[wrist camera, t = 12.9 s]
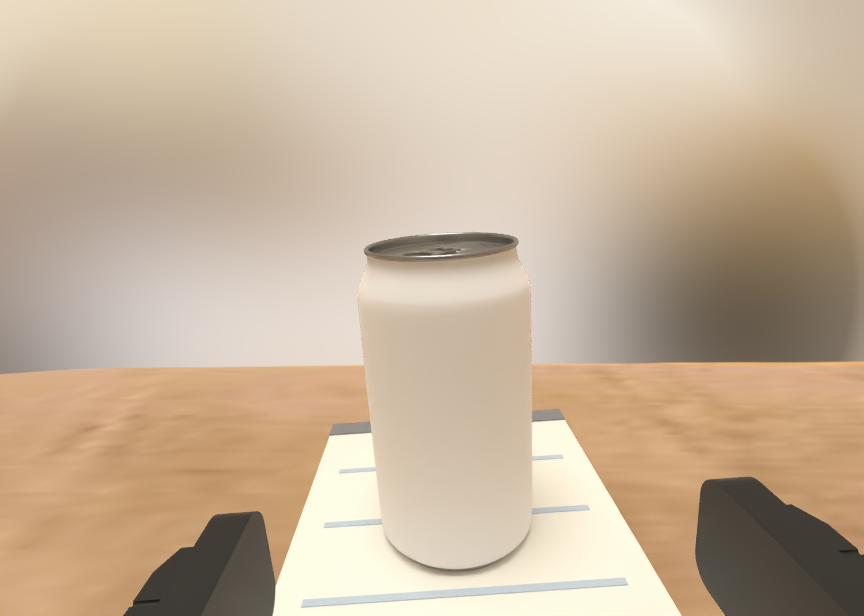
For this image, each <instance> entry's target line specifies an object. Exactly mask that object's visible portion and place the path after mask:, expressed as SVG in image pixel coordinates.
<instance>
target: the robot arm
mask: <svg viewBox="0 0 864 616" xmlns="http://www.w3.org/2000/svg"><path fill="white" fill-rule="evenodd" d="M695 554H696V562H697V566H698V570H699V573H700V576H701V578H702V581H703V583H704V585H705V587H706V588H707V590H708V591H709V593H710V594H711V596H712V597H713V599H714V600H715V601H716V603H717V604H718V606H719V607H720V609H721V610H722V611H723V613H724V614H725V616H864V555H860V554H859V552H858V549H857V548H856V547H855V546H853V545H852V544H851V543H850V542H849V541H847V540H846V539H845V538H844V537H843V536H841V535H840V534H839V533H838V532H837V531H835V530H834V529H833V528H832V527H831V526H829V525H828V524H827V523H825V522H823V521H821V520H819V519H817V518H815V517H814V516H812V515H810V514H808V513H806V512H804V511H803V510H801V509H799V508H797V507H795V506H793V505H786V504H784V503H783V502H782V501H781V500H780V499H779V498H778V497H776V496H775V495H774V494H773V493H772V492H771V491H770V490H769V489H767V488H766V487H765V486H764V485H763V484H762V483H761V482H759V481H758V480H757V479H755V478H753V477H738V478H724V479H711V480H706V481H705V482H704V483H703V484H702V487H701V492H700V503H699V514H698V526H697V537H696V549H695ZM274 604H275V578H274V573H273V567H272V562H271V556H270V551H269V545H268V540H267V535H266V529H265V524H264V519H263V516H262V514H261V513H260V512H258V511H256V512H242V513H228V514H217V515H215V516H213V517H212V518H211V520H210V521H209V523H208V524H207V526H206V527H205V529H204V531H203V532H202V534H201V536H200V537H199V539H198V540H197V542H196V544H195V545H194V547H187V548H181V549H179V550H178V551H177V552H176V553H175V554H174V555H173V556H171V557H170V558H169V559H168V560H167V561H166V562H164V563H163V564H162V565H161V566H160V567H159V568H158V569H156V570H155V571H154V572H153V573H152V575H151V576H150V578H149V579H148V581H147V582H146V583H145V585H144V586H143V588H142V589H141V591H140V592H139V594H138V595H137V597H136V598H135V600H134V601H133V606H132V607H129V608H128V610H127V611H126V613H125V614H124V616H273V611H274Z"/></svg>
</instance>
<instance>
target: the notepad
mask: <svg viewBox="0 0 864 616" xmlns="http://www.w3.org/2000/svg"><path fill="white" fill-rule="evenodd" d="M273 616H681V614H680V612H679V611H678V609H677V607H676V606H675V604H674V602H673V601H672V599H671V597H670V596H669V594H668V592H667V591H666V589H665V587H664V586H663V584H662V582H661V581H660V579H659V577H658V576H657V574H656V572H655V570H654V569H653V567H652V565H651V564H650V562H649V560H648V559H647V557H646V555H645V554H644V552H643V550H642V549H641V547H640V545H639V544H638V542H637V540H636V539H635V537H634V535H633V534H632V532H631V530H630V529H629V527H628V525H627V524H626V522H625V520H624V519H623V517H622V515H621V514H620V512H619V510H618V509H617V507H616V505H615V503H614V502H613V500H612V498H611V497H610V495H609V493H608V492H607V490H606V488H605V487H604V485H603V483H602V482H601V480H600V478H599V477H598V475H597V473H596V472H595V470H594V468H593V467H592V465H591V463H590V462H589V460H588V458H587V457H586V455H585V453H584V452H583V450H582V448H581V447H580V445H579V443H578V442H577V440H576V438H575V436H574V435H573V433H572V431H571V430H570V428H569V426H568V425H567V423H566V421H565V418H564V417H563V415H562V413H561V412H560V410H559V409H552V410H538V411H532V519H531V525H530V528H529V531H528V533H527V535H526V536H525V538H524V539H523V541H522V542H521V543H520V544H519V545H518V546H517V547H516V548H515V549H514V550H513V551H511V552H510V553H509V554H507V555H506V556H505V557H503V558H502V559H500V560H498V561H496V562H494V563H492V564H490V565H487V566H485V567H481V568H478V569H473V570H467V571H444V570H438V569H433V568H430V567H426V566H424V565H421V564H419V563H417V562H415V561H413V560H411V559H410V558H408V557H407V556H405V555H404V554H402V553H401V552H400V551H399V550H397V549H396V548H395V547H394V546H393V545H392V543H391V542H390V541H389V539H388V538H387V536H386V534H385V531H384V528H383V524H382V518H381V510H380V502H379V494H378V485H377V476H376V468H375V459H374V450H373V441H372V432H371V423H370V422H359V423H344V424H333V427H332V429H331V432H330V437H329V440H328V443H327V445H326V448H325V451H324V454H323V456H322V459H321V462H320V465H319V468H318V470H317V473H316V476H315V479H314V482H313V484H312V487H311V490H310V493H309V495H308V498H307V501H306V504H305V507H304V509H303V512H302V515H301V518H300V520H299V523H298V526H297V529H296V532H295V534H294V537H293V540H292V543H291V545H290V548H289V551H288V554H287V557H286V559H285V562H284V565H283V568H282V571H281V573H280V576H279V579H278V582H277V584H276V587H275V604H274V611H273Z"/></svg>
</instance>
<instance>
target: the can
mask: <svg viewBox="0 0 864 616" xmlns="http://www.w3.org/2000/svg"><path fill="white" fill-rule="evenodd" d="M517 245H518V239H517V238H515V237H513V236H510V235H504V234H497V233H478V232H462V233H438V234H425V235H415V236H408V237H400V238H394V239H389V240H384V241H380V242H376V243H373V244H371V245H369V246H367V247H366V248H365V249H364V253H365V254H366V255H367V264H366V268H365V271H364V273H363V276H362V279H361V282H360V285H359V288H358V307H359V318H360V328H361V339H362V347H363V358H364V367H365V377H366V386H367V395H368V404H369V413H370V423H371V432H372V441H373V450H374V459H375V468H376V476H377V485H378V494H379V502H380V510H381V518H382V524H383V528H384V531H385V534H386V536H387V538H388V539H389V541H390V542H391V543H392V545H393V546H394V547H395V548H396V549H397V550H399V551H400V552H401V553H402V554H404V555H405V556H407V557H408V558H410V559H411V560H413V561H415V562H417V563H419V564H421V565H424V566H426V567H430V568H433V569H438V570H444V571H467V570H473V569H478V568H481V567H485V566H487V565H490V564H492V563H494V562H496V561H498V560H500V559H502V558H503V557H505V556H506V555H507V554H509V553H510V552H511V551H513V550H514V549H515V548H516V547H517V546H518V545H519V544H520V543H521V542H522V541H523V539H524V538H525V536H526V535H527V533H528V531H529V528H530V525H531V519H532V354H531V353H532V352H531V294H530V283H529V279H528V276H527V274H526V272H525V270H524V268H523V266H522V264H521V262H520V260H519V258H518V255H517V252H516V246H517Z"/></svg>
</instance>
